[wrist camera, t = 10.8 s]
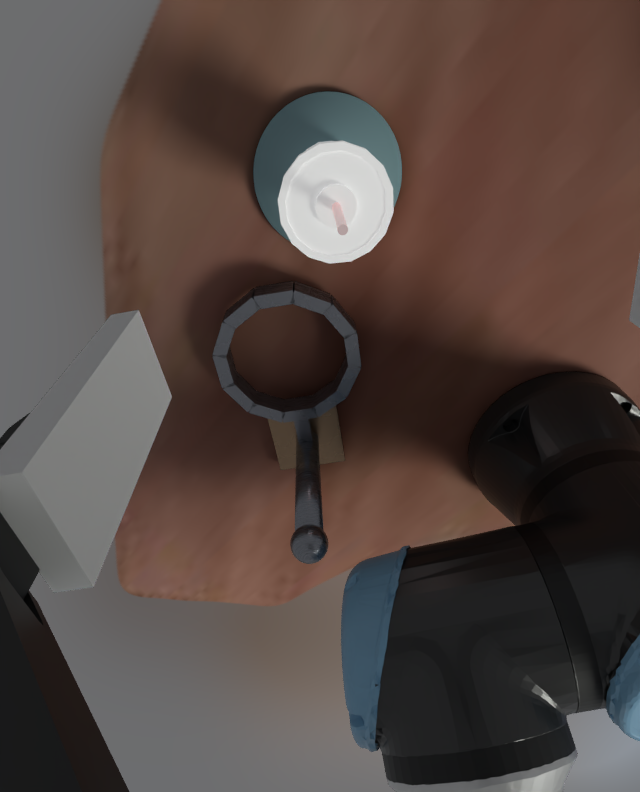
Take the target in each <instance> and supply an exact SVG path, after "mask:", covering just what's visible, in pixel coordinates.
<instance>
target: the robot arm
mask: <svg viewBox="0 0 640 792" xmlns="http://www.w3.org/2000/svg"><path fill="white" fill-rule="evenodd" d="M629 321H631V322H632V323H634V324H635V325H636V326H638V327H639V328H640V255H639V262H638V268H637V274H636V281H635V287H634V293H633V299H632V306H631V312H630V318H629ZM171 398H172V395H171V393H170V390H169V387H168V385H167V382H166V380H165V377H164V374H163V372H162V369H161V367H160V364H159V361H158V359H157V356H156V354H155V351H154V348H153V346H152V343H151V341H150V338H149V335H148V333H147V330H146V328H145V325H144V322H143V320H142V317H141V315H140V312H139V310H136V311H130V312H125V313H119V314H113V315H111V316H110V317H109V318H108V319H107V320H106V322H105V323H104V324H103V326H102V327H101V328H100V329H99V330H98V331H97V333H96V334H95V335H94V336H93V337H92V339H91V340H90V341H89V342H88V344H87V345H86V346H85V347H84V349H83V350H82V351H81V352H80V353H79V355H78V356H77V357H76V358H75V359H74V361H73V362H72V363H71V364H70V365H69V367H68V368H67V369H66V370H65V371H64V373H63V374H62V375H61V376H60V378H59V379H58V380H57V381H56V382H55V384H54V385H53V386H52V387H51V388H50V390H49V391H48V392H47V393H46V395H45V396H44V397H43V398H42V399H41V401H40V402H39V403H38V404H37V406H36V407H35V408H34V409H33V410H32V412H31V413H29V414H27V415H26V416H25V417H23V418H22V419H21V420H19V421H18V422H17V423H15V424H14V425H13V426H11V427H10V428H9V429H8V430H7V431H6V432H5V433H4V435H3V436H2V437H1V438H0V792H129V790H128V788H127V786H126V784H125V782H124V780H123V778H122V776H121V773H120V772H119V769H118V767H117V765H116V763H115V761H114V759H113V757H112V755H111V753H110V751H109V749H108V747H107V745H106V743H105V741H104V738H103V736H102V734H101V732H100V730H99V728H98V726H97V724H96V722H95V720H94V718H93V716H92V714H91V712H90V710H89V707H88V705H87V703H86V701H85V699H84V697H83V695H82V693H81V691H80V689H79V687H78V685H77V683H76V681H75V679H74V677H73V674H72V672H71V670H70V668H69V666H68V664H67V662H66V660H65V658H64V656H63V654H62V652H61V650H60V648H59V646H58V643H57V641H56V640H55V637H54V635H53V633H52V631H51V629H50V627H49V625H48V623H47V621H46V619H45V617H44V615H43V613H42V610H41V608H40V606H39V604H38V602H37V601H36V600H35V598H34V597H33V596H32V594H31V593H30V591H29V589H30V587H31V585H32V583H33V581H34V580H35V578H36V576H37V574H38V572H39V573H40V574H41V576H42V577H43V578H44V580H45V581H46V583H47V584H48V586H49V587H50V589H51V590H52V591H53V593H57V592H64V591H71V590H78V589H85V588H92V587H94V585H95V583H96V580H97V578H98V575H99V573H100V571H101V568H102V566H103V563H104V561H105V558H106V556H107V554H108V551H109V549H110V546H111V544H112V541H113V539H114V537H115V534H116V532H117V529H118V527H119V525H120V522H121V520H122V517H123V515H124V512H125V510H126V508H127V505H128V503H129V500H130V498H131V495H132V493H133V491H134V488H135V486H136V483H137V481H138V478H139V476H140V474H141V471H142V469H143V466H144V464H145V461H146V459H147V457H148V454H149V452H150V449H151V447H152V444H153V442H154V440H155V437H156V435H157V432H158V430H159V427H160V425H161V423H162V420H163V418H164V415H165V413H166V410H167V408H168V406H169V403H170V401H171ZM468 459H469V465H470V469H471V471H472V474H473V476H474V478H475V480H476V483H477V485H478V487H479V489H480V490H481V492H482V493H483V495H484V496H485V497H486V499H487V500H488V501H489V502H490V503H491V504H493V505H494V506H495V507H496V508H497V509H498V510H499V511H500V512H501V513H502V514H503V515H505V516H506V517H507V518H508V519H509V520H510V521H511V522H512V523H513V524H514V525H515V526H512V527H511V526H510V527H506V528H502V529H497V530H493V531H488V532H484V533H479V534H475V535H471V536H466V537H462V538H457V539H453V540H448V541H443V542H438V543H434V544H429V545H424V546H419V547H414V548H411V547H410V546H404V547H402V548H401V550H399V551H395V552H392V553H388V554H384V555H381V556H377V557H373V558H370V559H366V560H364V561H362V562H360V563H358V564H357V565H356V566H355V567H354V568H353V569H352V571H351V573H350V574H349V576H348V579H347V582H346V585H345V589H344V595H343V603H342V620H341V646H342V668H343V681H344V690H345V699H346V705H347V708H348V711H349V716H350V725H351V730H352V734H353V737H354V739H355V741H356V743H357V744H358V745H359V746H360V747H361V748H366V749H368V750H369V751H371V752H373V751H377V750H378V749H379V748H380V749H381V751H382V755H383V761H384V766H385V772H386V777H387V782H388V785H389V786H390V787H391V788H392V789H393V790H394V791H396V792H563V790H564V783H565V781H566V779H567V777H568V774H569V772H570V770H571V768H572V766H573V764H574V762H575V760H576V758H577V754H578V753H577V750H576V747H575V744H574V741H573V738H572V735H571V732H570V729H569V726H568V723H567V718H566V716H567V715H569V714H572V713H579V712H584V711H590V710H596V709H602V708H606V709H607V712H608V715H609V717H610V718H611V719H612V721H613V723H615V724H616V725H618V726H619V728H620V729H621V730H622V731H623V732H624V733H625V734H626V735H628V736H629V737H631V738H633V739H635V740H638V741H640V410H639V408H638V407H637V405H636V404H635V403H634V401H633V400H632V399H631V398H630V397H629V396H627V395H626V394H625V393H624V392H623V391H622V390H621V389H620V388H619V387H618V386H617V385H616V384H614V383H613V382H611V381H609V380H607V379H606V378H603V377H601V376H598V375H595V374H590V373H585V372H559V373H553V374H548V375H544V376H541V377H537V378H535V379H532V380H529V381H527V382H525V383H523V384H521V385H519V386H517V387H515V388H513V389H512V390H510V391H509V392H507V393H506V394H504V395H503V396H502V397H500V398H499V399H498V400H497V401H496V402H495V403H493V404H492V405H491V406H490V407H489V409H488V410H487V411H486V412H485V413H484V414H483V416H482V417H481V419H480V420H479V422H478V423H477V425H476V427H475V429H474V431H473V433H472V436H471V439H470V443H469V449H468Z"/></svg>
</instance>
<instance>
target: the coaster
mask: <svg viewBox="0 0 640 792" xmlns="http://www.w3.org/2000/svg"><path fill="white" fill-rule="evenodd" d="M342 140H343V141H345V142H348V143H351V144H354V145H357V146H360V147H363V148H365V149H367V150H368V151H369V152H370V153H371V154H372V155H373V156H374V157H375V158H376V159H377V160H378V161H379V162H380V163H381V164H382V165H383V166H384V168H385V170H386V172H387V175H388V177H389V179H390V182H391V184H392V186H393V208H394V206H395V203H396V201H397V198H398V195H399V191H400V187H401V179H402V163H401V155H400V151H399V147H398V143H397V141H396V138H395V136H394V134H393V132H392V130H391V128H390V127H389V125H388V124H387V122H386V121H385V120H384V118H383V117H382V116H381V115H380V114H379V113H378V112H377V111H376V110H375V109H374V108H373V107H371V106H370V105H369V104H367V103H366V102H364V101H362V100H361V99H359V98H357V97H354V96H351V95H348V94H345V93H340V92H329V91H325V92H316V93H312V94H308V95H305V96H303V97H300V98H298V99H296V100H294V101H293V102H291V103H289V104H288V105H286V106H285V107H284V108H283V109H282V110H280V111H279V112H278V113H277V114H276V115H275V117H274V118H273V119H272V120H271V121H270V123H269V124H268V126H267V127H266V129H265V130H264V132H263V134H262V136H261V138H260V141H259V144H258V147H257V150H256V154H255V159H254V168H253V175H254V186H255V192H256V195H257V199H258V202H259V204H260V207H261V209H262V211H263V213H264V215H265V217H266V218H267V220H268V221H269V222H270V224H271V225H272V226H273V227H274V228H275V230H276V231H277V232H278V233H279V234H281V235H282V236H283V237H284V238H286V239H287V240H289V241H290V239H289V238H288V236H287V234H286V232H285V230H284V229H283V227H282V225H281V222H280V214H279V206H278V197H279V193H280V189H281V185H282V181H283V177H284V175H285V173H286V172H287V170H288V169H289V168H290V166H291V165H292V164H293V162H294V161H295V159H296V158H297V157H298V155H300V154H301V153H303V152H305V151H306V149H308V148H310V147H311V146H313V145H315V144H316V143H318V142H325V141H342ZM290 242H291V241H290Z"/></svg>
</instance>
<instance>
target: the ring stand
mask: <svg viewBox="0 0 640 792" xmlns="http://www.w3.org/2000/svg"><path fill="white" fill-rule="evenodd" d="M289 304H294V305H297V306H300V307H303V308H306V309H308V310H311V311H314V312H317V313H320V314H323V315H324V316H325V317H326V318H327V319H328V320H329V321H330V322H331V324H332V325H333V326H334V327H335V328H336V329H337V331H338V332H339V333H340V334H341V335H342V336H343V337H344V343H345V350H346V356H345V358H344V360H343V363H342V365H341V367H340V369H339V371H338V374H337V376H336V378H335V379H334V380H333V381H331V382H330V383H329V384H327V385H326V386H324V387H323V388H322V389H320V390H319V391H317V392H316V393H315V394H313V395H309V396H303V397H296V398H289V399H282V398H278V397H275V396H272V395H269V394H265V393H262V392H259V391H256V390H255V389H254V388H253V387H252V386H251V385H250V384H249V383H248V382H247V381H246V380H245V379H244V378H243V377H242V376H241V375H240V374H239V373H238V372H237V371H236V368H235V364H234V360H233V357H232V353H231V350H230V343H231V340H232V337H233V334H234V331H235V329H236V328H237V327H238V326H239V325H241V324H242V323H243V322H244V321H246V320H247V319H248V318H249V317H250V316H252V315H253V314H254V313H255V312H257V311H258V310H259V309H264V308H270V307H277V306H283V305H289ZM212 357H213V360H214V363H215V367H216V370H217V373H218V376H219V380H220V383H221V386H222V388H223V390H224V391H225V392H226V393H227V394H228V395H230V396H231V397H232V398H233V399H234V400H235V401H236V402H237V403H238V404H239V405H240V406H241V407H242V408H244V409H245V410H246V411H247V412H248V411H249V413H251V414H254V415H258V416H261V417H264V418H267V419H268V422H269V426H270V430H271V434H272V438H273V442H274V446H275V450H276V454H277V458H278V461H279V465H280V469H281V470H285V469H292V468H296V488H295V532H294V533H293V535H292V538H291V543H290V545H291V551H292V553H293V555H294V556H295V557H296V558H297V559H298V560H299V561H301V562H303V563H307V564H312V563H316V562H318V561H320V560H321V559H322V558H323V557H324V556H325V554H326V552H327V549H328V538H327V536H326V534H325V532H324V531H323V516H322V496H321V477H320V464H327V463H334V462H341V461H345V455H344V449H343V443H342V437H341V431H340V425H339V419H338V413H337V407H336V405H337V404H339V403H340V402H341V401H343V400H344V399H346V397H347V396H348V394H349V392H350V390H351V388H352V386H353V384H354V382H355V380H356V378H357V376H358V374H359V371H360V369H361V360H360V352H359V344H358V337H357V331H356V327H355V323H354V321H353V320H352V318H351V317H350V316H349V315H348V314H347V312H346V311H345V310H344V309H343V308H342V306H341V305H340V304H339V303H338V302H337V301H336V299H335V298H334V297H333V296H332V295H331V296H330V293H327V292H324V291H321V290H319V289H316V288H313V287H310V286H307V285H305V284H302V283H299V282H296V281H295V282H294V284H293V281H289V282H283V283H277V284H271V285H264V286H258V287H256V288H253V289H252V290H251V291H249V292H248V293H247V294H246V295H245V296H243V297H242V298H241V299H240V300H239V301H237V302H236V303H235V304H234V305H233V306H231V307H230V308H229V309H228V310H227V311H226V313H225V316H224V319H223V322H222V325H221V329H220V332H219V335H218V338H217V342H216V345H215V348H214V351H213V356H212Z"/></svg>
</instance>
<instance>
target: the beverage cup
mask: <svg viewBox="0 0 640 792" xmlns="http://www.w3.org/2000/svg"><path fill="white" fill-rule="evenodd" d="M278 206H279V214H280V222H281V225H282V227H283V229H284V230H285V232H286V234H287V236H288V238H289V239H290V241H291V243H292V244H293V245H294V246H295V247H297V248H298V249H299V250H300V251H302V252H303V253H304V254H305V255H307V256H308V257H309V258H313V259H316V260H319V261H323V262H326V263H329V264H330V263H340V262H350V261H353V260H355V259H356V258H358V257H360V256H362V255H364V254H366V253H368V252H370V251H371V250H372V249H373V248H374V247H375V245H376V244H377V243H378V242H379V241H380V240H381V239H382V237H383V236H384V235H385V234H386V231H387V228H388V226H389V223H390V220H391V218H392V215H393V212H394V209H393V186H392V184H391V182H390V179H389V177H388V175H387V172H386V170H385V168H384V166H383V165H382V164H381V163H380V162H379V161H378V160H377V159H376V158H375V157H374V156H373V155H372V154H371V153H370V152H369V151H368V150H367V149H365V148H363V147H360V146H357V145H354V144H351V143H348V142H345V141H343V140H342V141H325V142H318V143H316V144H315V145H313V146H311V147H310V148H308V149H306V151H305V152H303V153H301V154H300V155H298V157H297V158H296V159H295V161H294V162H293V164H292V165H291V166H290V168H289V169H288V170H287V172H286V173H285V175H284V177H283V181H282V185H281V189H280V193H279V197H278Z"/></svg>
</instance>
